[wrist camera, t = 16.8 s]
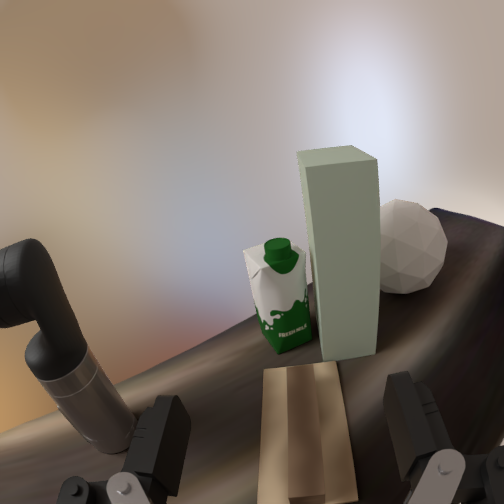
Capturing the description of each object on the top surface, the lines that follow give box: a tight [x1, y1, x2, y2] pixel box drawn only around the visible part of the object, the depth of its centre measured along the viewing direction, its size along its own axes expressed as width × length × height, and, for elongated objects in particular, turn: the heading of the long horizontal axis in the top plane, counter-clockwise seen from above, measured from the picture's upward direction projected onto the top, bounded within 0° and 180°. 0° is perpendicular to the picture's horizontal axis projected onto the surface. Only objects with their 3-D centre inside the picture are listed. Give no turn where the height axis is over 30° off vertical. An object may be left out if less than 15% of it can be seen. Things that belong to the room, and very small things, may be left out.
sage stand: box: [297, 145, 381, 362], centre depth 48 cm, size 9×13×32 cm
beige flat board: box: [257, 361, 358, 504], centre depth 39 cm, size 12×25×1 cm, turn 177°
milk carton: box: [243, 237, 312, 354], centre depth 54 cm, size 9×9×20 cm
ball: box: [380, 199, 448, 294], centre depth 61 cm, size 19×20×20 cm
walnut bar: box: [286, 364, 325, 504], centre depth 36 cm, size 4×21×4 cm, turn 177°
